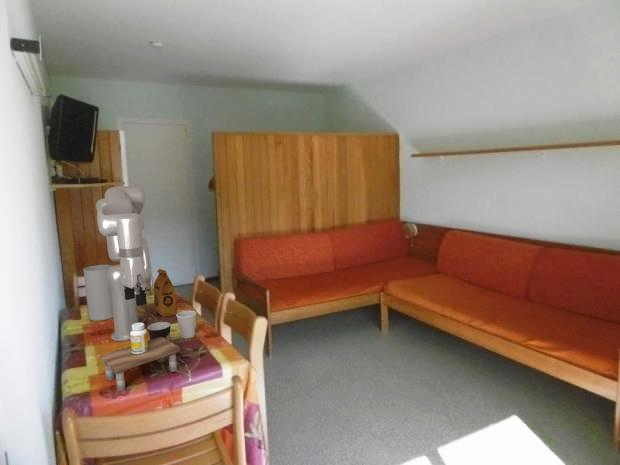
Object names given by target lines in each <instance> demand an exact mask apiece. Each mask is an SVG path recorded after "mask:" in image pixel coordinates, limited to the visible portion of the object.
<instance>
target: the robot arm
mask: <svg viewBox="0 0 620 465" xmlns="http://www.w3.org/2000/svg"><path fill="white" fill-rule="evenodd" d="M145 202H146V196H145V192H144V190H143V189H142V187H140V186H137V185H127V186H125V185H124V186H123V185H122V186H113V187H109V188H107V190H106V191H105V193H104V197H103V198H101V199H98V200H97V201H96V204H95V208H96V212H97V214H96V222H97V228H98V231H99V233H100V234H101V236H103V237H105V238H106V246H107V252H108V257H109V259H110V260H111V261H112V262H119V264H115V265H112V267H110V268H109V269H108V271H107V279H108V283H109V286H110V291H111V298H112V307H113V324H114V332H113V333H112V334H111V335H110V337H111V340H113V341H115V342H125V341H131V339H130V333H131V331H132V325H133V324H135V323H139V315H138V307H140V306H145V305H147V304H148V303H147V284H148V283H149V282H151V280H152V276H153V274H152V273H153V272H152V266H151V258H150V257H151V256H150V250H149V249H150V248H149V244H148V242H147V240H146V239H145V238H144V237H143V230H144V227H145V225H144V224H145V222H144V218H143V217H142V216H141V215H142V213H143V210H144V207H145ZM135 292H136V293H135Z"/></svg>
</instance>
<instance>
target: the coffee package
mask: <svg viewBox="0 0 620 465" xmlns="http://www.w3.org/2000/svg"><path fill="white" fill-rule="evenodd" d="M157 273H158V275H157V277H156V279H155V280H154V282H153V298H154V301H153V302H154V306H155V311H156V312H157V313H158V314H159V315H160V316H161V317H163V318H165V317H171V316H176V314H177V313H178V305H177V304H178V303H177V294H176V292H175V291H176V290H175V288H174V285H173V283H172V281H171V279H170V277H169V275H168V274H167V271H166V270H164V269H161V268H159V269H157Z"/></svg>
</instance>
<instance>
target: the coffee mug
mask: <svg viewBox="0 0 620 465" xmlns="http://www.w3.org/2000/svg"><path fill="white" fill-rule="evenodd" d="M171 326H172V325H171V322H167V321H161V322H155V323H151V324H149V325H148V326H147V334H148V338H149V340H153V339H156V338H159V337H163V338H165V339H167V340H168V341H170V342H171V330H172V329H171Z"/></svg>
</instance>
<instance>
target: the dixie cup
mask: <svg viewBox="0 0 620 465" xmlns="http://www.w3.org/2000/svg"><path fill="white" fill-rule="evenodd" d="M175 316H176V317H177V318H176V319H177V324H178V328H179V333H180V337H181V338H182V339H190V338H193V337H195V336H196V335H195V334H196V317H197V312H196V311H195V310H190V309H189V310H182V311H180V312H177V314H176V315H175Z"/></svg>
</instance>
